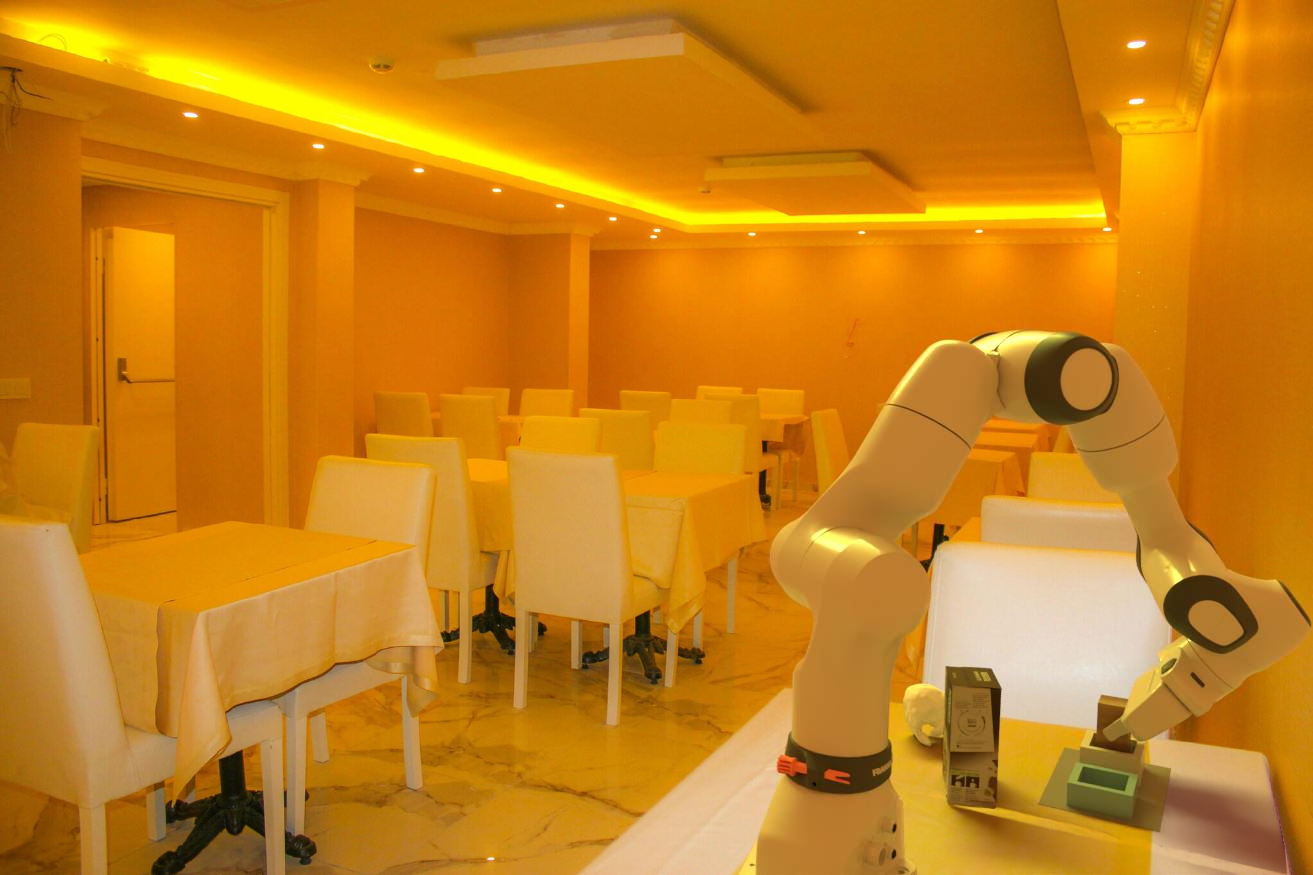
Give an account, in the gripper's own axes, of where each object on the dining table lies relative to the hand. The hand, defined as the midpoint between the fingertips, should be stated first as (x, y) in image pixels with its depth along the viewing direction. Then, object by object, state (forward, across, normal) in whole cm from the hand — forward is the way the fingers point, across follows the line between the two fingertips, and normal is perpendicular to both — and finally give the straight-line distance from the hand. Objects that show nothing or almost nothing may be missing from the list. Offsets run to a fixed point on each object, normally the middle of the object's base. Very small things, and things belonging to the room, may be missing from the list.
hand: (1108, 729), depth 137 cm
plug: (+4, 0, +5) cm, 6 cm away
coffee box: (+16, +16, -6) cm, 23 cm away
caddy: (+4, +6, +5) cm, 9 cm away
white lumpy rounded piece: (+22, -2, -11) cm, 24 cm away
